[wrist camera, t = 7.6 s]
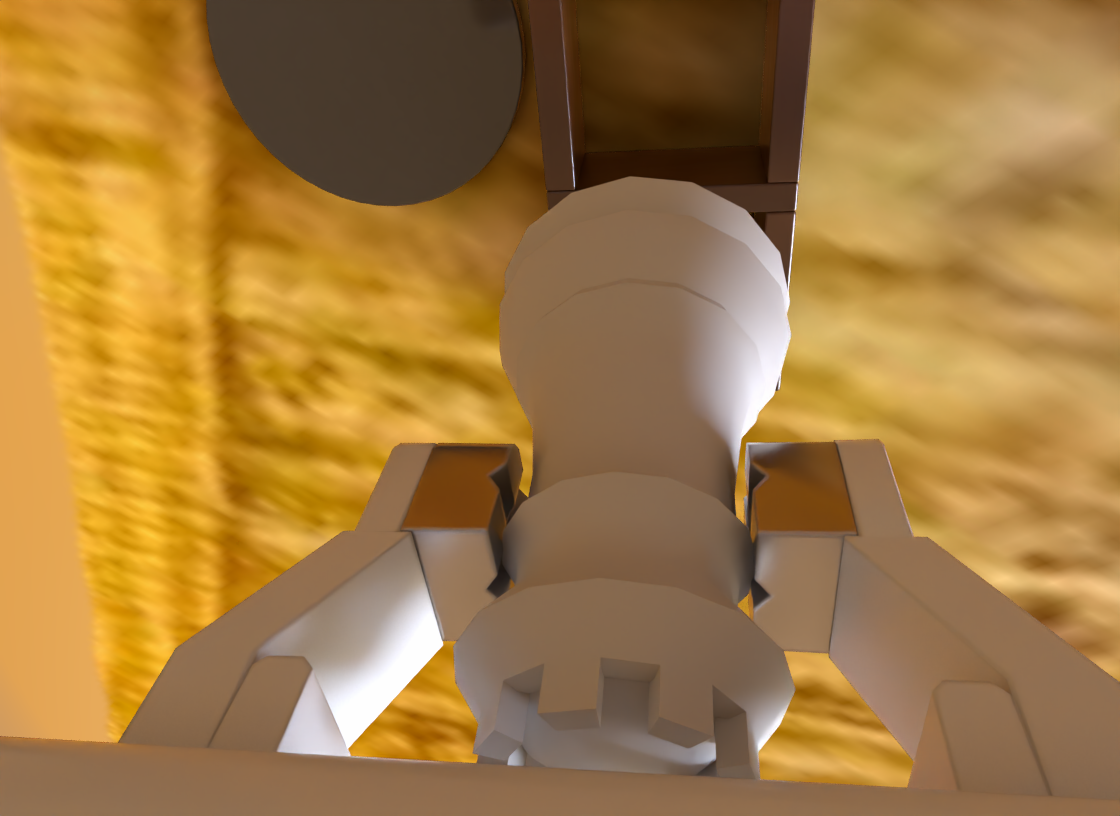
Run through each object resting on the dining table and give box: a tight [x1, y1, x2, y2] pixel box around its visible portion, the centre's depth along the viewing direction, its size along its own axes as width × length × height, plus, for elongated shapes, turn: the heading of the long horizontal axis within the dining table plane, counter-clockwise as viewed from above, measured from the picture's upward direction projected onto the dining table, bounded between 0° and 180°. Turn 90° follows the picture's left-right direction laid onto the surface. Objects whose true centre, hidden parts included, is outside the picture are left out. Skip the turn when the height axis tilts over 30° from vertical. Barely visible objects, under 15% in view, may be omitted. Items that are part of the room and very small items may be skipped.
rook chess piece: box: [453, 176, 795, 779], centre depth 10 cm, size 4×4×8 cm
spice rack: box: [528, 0, 815, 391], centre depth 21 cm, size 18×7×3 cm, turn 5°
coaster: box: [206, 0, 526, 206], centre depth 23 cm, size 9×9×1 cm
